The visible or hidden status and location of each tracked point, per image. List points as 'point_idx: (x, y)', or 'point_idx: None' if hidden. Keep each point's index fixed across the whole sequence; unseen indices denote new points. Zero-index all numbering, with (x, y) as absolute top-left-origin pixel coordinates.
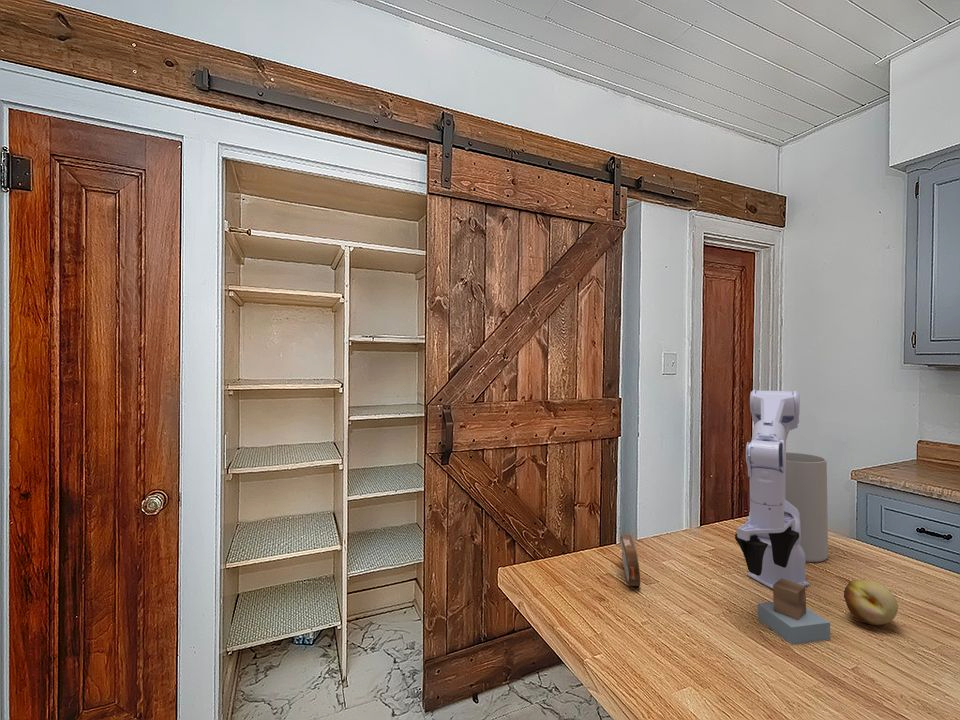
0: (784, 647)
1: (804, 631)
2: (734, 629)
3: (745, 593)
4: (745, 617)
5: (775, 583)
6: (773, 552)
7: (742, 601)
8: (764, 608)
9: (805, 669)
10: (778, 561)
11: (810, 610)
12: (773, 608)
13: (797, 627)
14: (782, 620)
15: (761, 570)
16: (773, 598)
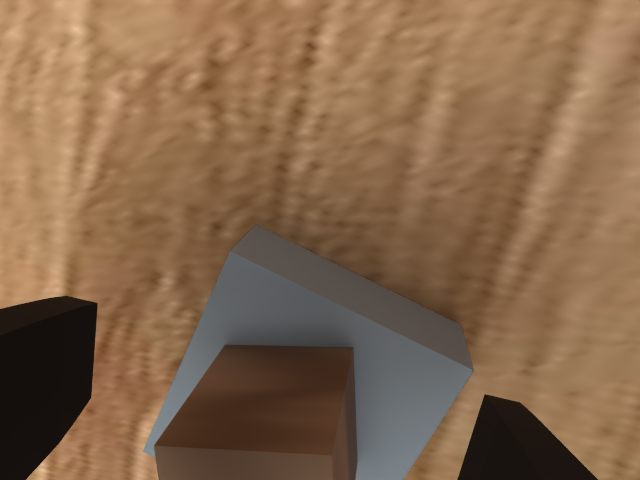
0: (131, 388)
1: None
2: (65, 193)
3: (514, 30)
4: (218, 175)
5: (195, 450)
6: (521, 476)
7: (384, 74)
8: (209, 299)
9: (64, 476)
10: (477, 468)
11: (407, 467)
12: (252, 333)
13: None
14: (166, 406)
15: (50, 443)
16: (196, 385)
